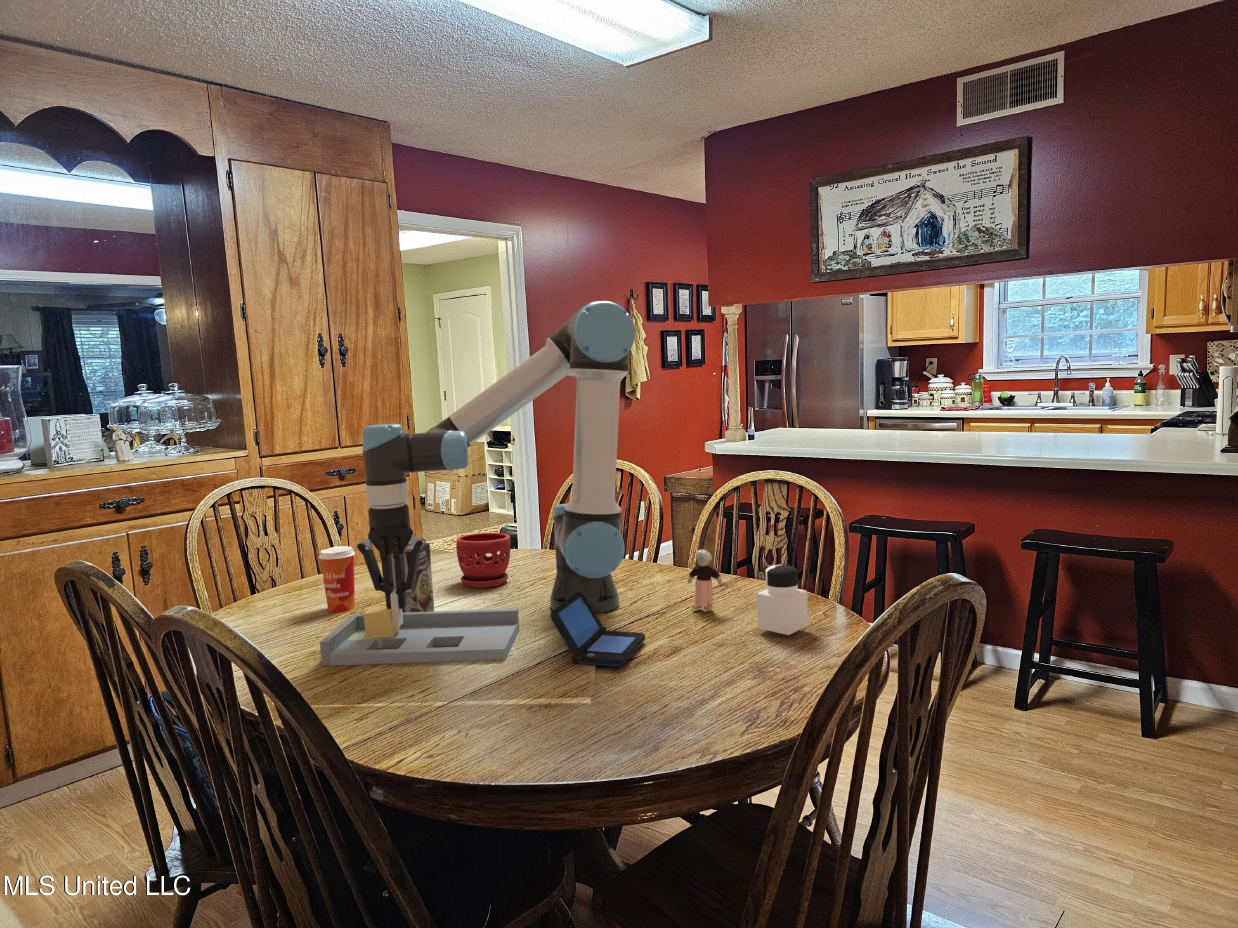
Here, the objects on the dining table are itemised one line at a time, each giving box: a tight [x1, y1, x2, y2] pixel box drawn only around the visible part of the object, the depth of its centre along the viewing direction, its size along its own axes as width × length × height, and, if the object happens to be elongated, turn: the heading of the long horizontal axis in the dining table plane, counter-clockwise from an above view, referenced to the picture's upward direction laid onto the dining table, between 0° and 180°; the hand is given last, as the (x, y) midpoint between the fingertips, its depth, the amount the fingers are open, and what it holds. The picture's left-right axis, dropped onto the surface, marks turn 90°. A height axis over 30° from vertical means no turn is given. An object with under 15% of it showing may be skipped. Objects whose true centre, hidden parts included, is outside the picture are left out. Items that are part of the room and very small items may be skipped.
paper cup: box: [318, 545, 356, 613], centre depth 180 cm, size 8×8×14 cm
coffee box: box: [391, 542, 435, 613], centre depth 169 cm, size 9×6×16 cm
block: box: [362, 604, 400, 639], centre depth 156 cm, size 5×5×5 cm
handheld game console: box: [549, 592, 646, 667], centre depth 147 cm, size 16×13×9 cm
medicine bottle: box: [756, 564, 809, 636], centre depth 155 cm, size 7×7×12 cm
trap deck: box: [319, 608, 520, 667], centre depth 153 cm, size 34×16×4 cm, turn 88°
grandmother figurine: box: [686, 549, 724, 611], centre depth 169 cm, size 8×4×13 cm, turn 76°
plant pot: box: [455, 532, 511, 589], centre depth 198 cm, size 13×13×12 cm
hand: (398, 624), depth 156 cm, fingers closed
